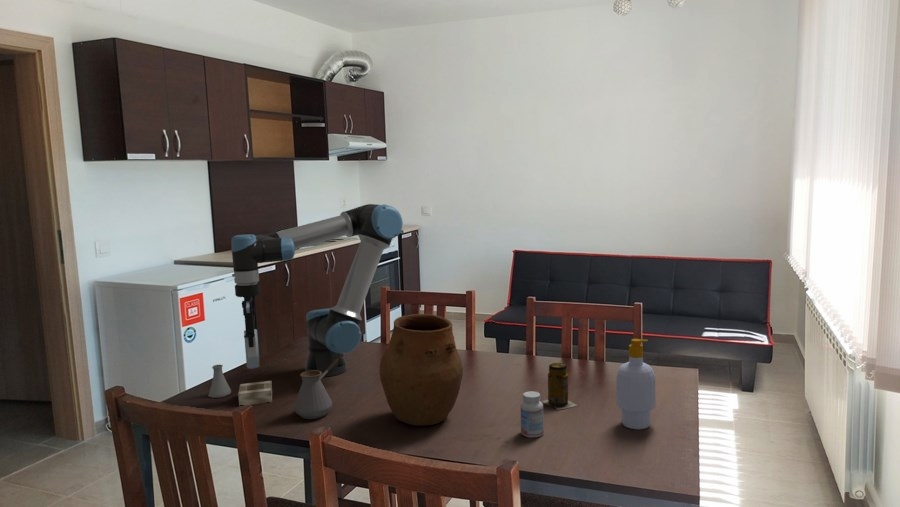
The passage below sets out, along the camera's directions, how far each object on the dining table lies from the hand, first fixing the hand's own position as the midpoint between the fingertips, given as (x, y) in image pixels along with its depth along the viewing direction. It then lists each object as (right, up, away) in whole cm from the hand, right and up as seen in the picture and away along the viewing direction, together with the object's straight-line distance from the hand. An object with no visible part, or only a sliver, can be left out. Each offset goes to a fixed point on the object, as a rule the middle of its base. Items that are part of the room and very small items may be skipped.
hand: (252, 354), depth 209 cm
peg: (0, -4, 0) cm, 4 cm away
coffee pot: (+25, -16, -9) cm, 31 cm away
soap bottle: (+115, -15, -30) cm, 120 cm away
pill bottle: (+86, -16, -34) cm, 94 cm away
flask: (-13, -15, +8) cm, 21 cm away
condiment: (+97, -13, -12) cm, 99 cm away
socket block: (+1, -15, +2) cm, 15 cm away
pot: (+56, -16, -21) cm, 62 cm away
